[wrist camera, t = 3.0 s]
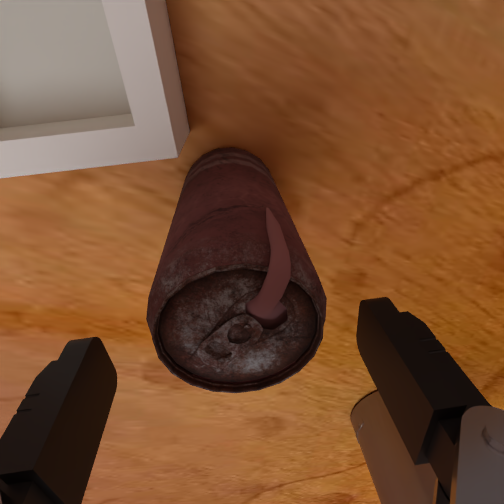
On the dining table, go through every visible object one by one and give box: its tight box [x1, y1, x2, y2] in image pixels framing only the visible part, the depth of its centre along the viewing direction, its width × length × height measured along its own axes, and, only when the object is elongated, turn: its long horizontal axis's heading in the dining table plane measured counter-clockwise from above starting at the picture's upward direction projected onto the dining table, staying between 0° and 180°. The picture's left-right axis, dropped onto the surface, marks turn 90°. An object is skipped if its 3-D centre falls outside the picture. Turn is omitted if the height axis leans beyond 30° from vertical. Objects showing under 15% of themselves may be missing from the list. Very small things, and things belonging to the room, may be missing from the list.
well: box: [0, 0, 190, 178], centre depth 14 cm, size 12×12×6 cm
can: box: [146, 147, 327, 393], centre depth 16 cm, size 6×6×14 cm
